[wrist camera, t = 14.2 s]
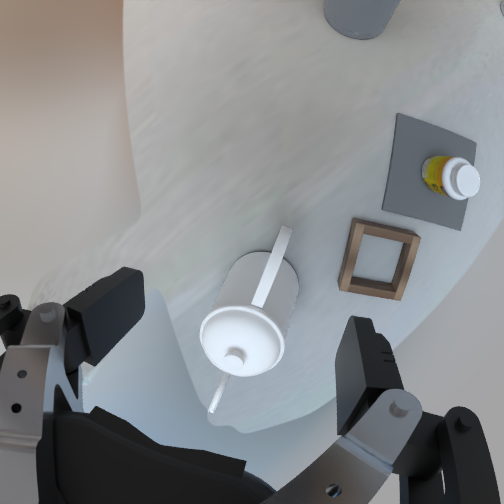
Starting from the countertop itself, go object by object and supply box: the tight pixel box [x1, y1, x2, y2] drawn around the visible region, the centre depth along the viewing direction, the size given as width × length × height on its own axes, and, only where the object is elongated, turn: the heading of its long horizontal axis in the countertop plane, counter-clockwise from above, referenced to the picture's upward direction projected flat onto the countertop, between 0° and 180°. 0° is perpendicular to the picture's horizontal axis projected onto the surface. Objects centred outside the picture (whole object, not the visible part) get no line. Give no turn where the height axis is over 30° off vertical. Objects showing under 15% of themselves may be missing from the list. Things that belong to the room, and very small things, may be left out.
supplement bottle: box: [422, 156, 480, 200], centre depth 27 cm, size 5×5×10 cm
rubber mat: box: [382, 113, 476, 231], centre depth 32 cm, size 14×14×1 cm
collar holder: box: [338, 218, 421, 301], centre depth 37 cm, size 10×10×3 cm
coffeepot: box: [200, 225, 299, 413], centre depth 34 cm, size 11×25×19 cm, turn 161°
